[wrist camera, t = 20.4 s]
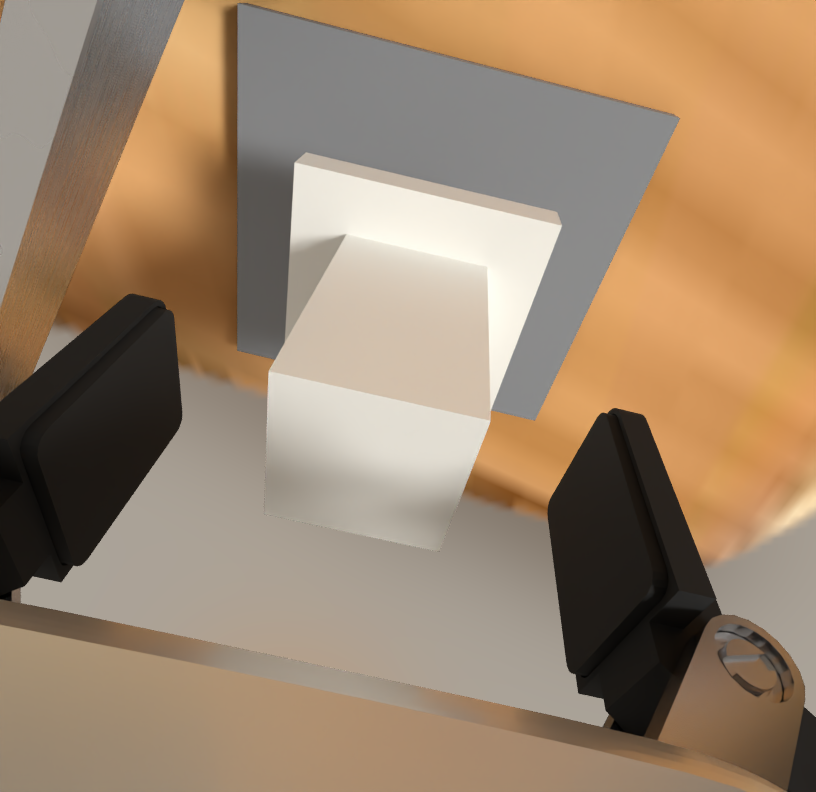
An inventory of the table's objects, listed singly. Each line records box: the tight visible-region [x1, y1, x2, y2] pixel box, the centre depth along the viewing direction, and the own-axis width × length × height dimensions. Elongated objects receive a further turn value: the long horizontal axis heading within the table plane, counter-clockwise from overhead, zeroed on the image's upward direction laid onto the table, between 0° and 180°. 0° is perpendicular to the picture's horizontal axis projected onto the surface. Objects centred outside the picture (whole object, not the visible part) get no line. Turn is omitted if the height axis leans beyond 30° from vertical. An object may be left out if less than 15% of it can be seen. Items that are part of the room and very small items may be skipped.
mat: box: [237, 3, 680, 420], centre depth 17 cm, size 12×11×1 cm
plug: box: [264, 152, 562, 552], centre depth 13 cm, size 6×6×10 cm
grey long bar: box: [0, 0, 184, 401], centre depth 12 cm, size 18×2×3 cm, turn 141°
